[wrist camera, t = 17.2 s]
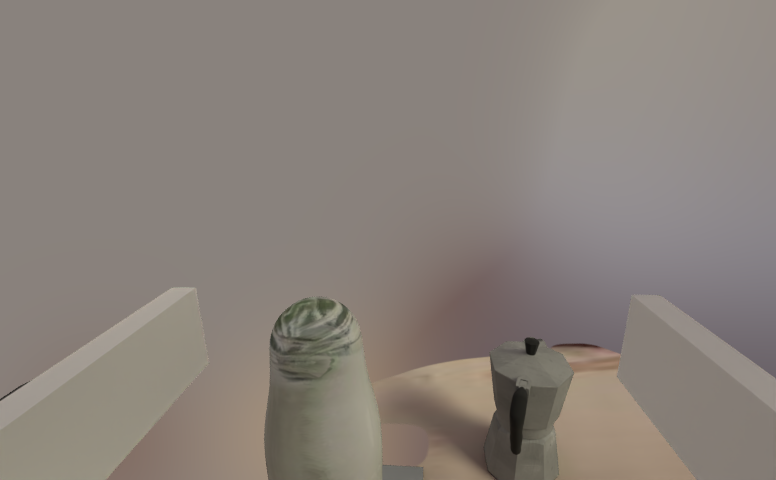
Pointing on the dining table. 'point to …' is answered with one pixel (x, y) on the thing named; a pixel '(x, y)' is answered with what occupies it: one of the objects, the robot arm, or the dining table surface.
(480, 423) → the dining table surface
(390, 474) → the mat
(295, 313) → the grey green rounded cylinder
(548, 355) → the coffeepot
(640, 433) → the dining table surface
